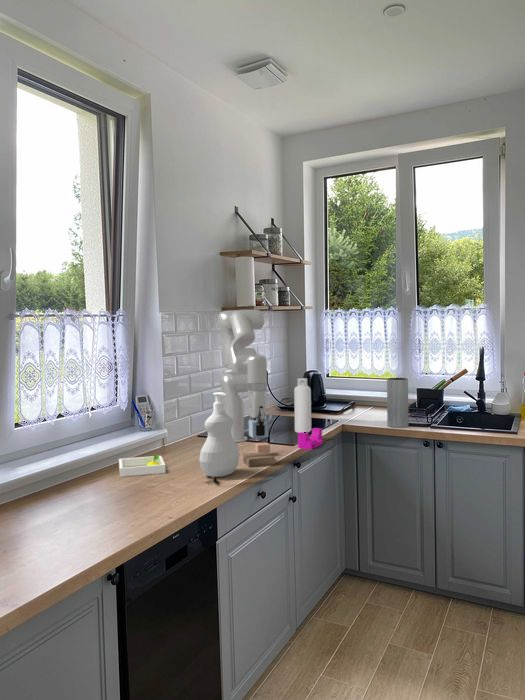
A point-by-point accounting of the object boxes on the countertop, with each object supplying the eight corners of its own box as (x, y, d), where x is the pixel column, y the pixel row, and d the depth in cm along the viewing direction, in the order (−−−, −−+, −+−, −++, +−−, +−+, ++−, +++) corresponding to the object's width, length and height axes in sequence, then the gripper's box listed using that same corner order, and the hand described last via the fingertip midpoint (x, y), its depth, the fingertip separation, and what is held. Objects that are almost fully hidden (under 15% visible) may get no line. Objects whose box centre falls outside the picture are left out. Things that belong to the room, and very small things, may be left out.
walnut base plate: (242, 461, 219) (242, 453, 218) (267, 459, 221) (267, 451, 221) (249, 467, 209) (249, 459, 209) (274, 465, 212) (274, 457, 212)
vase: (388, 435, 266) (387, 379, 266) (386, 432, 276) (386, 377, 275) (409, 436, 265) (409, 379, 264) (407, 432, 275) (407, 377, 274)
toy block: (311, 452, 234) (310, 434, 234) (298, 450, 238) (297, 433, 238) (327, 445, 247) (326, 428, 247) (314, 444, 250) (314, 427, 250)
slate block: (248, 435, 217) (248, 420, 217) (263, 434, 218) (263, 419, 218) (252, 438, 211) (252, 422, 211) (268, 437, 213) (267, 421, 212)
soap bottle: (215, 482, 189) (213, 395, 188) (191, 476, 196) (190, 394, 195) (247, 472, 202) (246, 391, 201) (224, 467, 209) (223, 389, 208)
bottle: (314, 435, 270) (313, 378, 269) (306, 438, 263) (305, 379, 262) (299, 434, 274) (298, 377, 274) (291, 437, 268) (290, 378, 267)
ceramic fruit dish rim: (119, 466, 213) (118, 458, 213) (161, 463, 218) (161, 455, 218) (120, 476, 198) (119, 468, 198) (165, 473, 202) (165, 464, 202)
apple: (154, 482, 209) (156, 459, 207) (140, 479, 211) (141, 456, 210) (165, 476, 215) (166, 454, 214) (151, 473, 217) (152, 451, 216)
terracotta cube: (255, 455, 230) (254, 443, 230) (266, 454, 231) (266, 442, 231) (258, 457, 225) (258, 445, 225) (270, 456, 226) (270, 444, 226)
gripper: (242, 386, 221) (243, 431, 222) (253, 389, 205) (254, 438, 205) (260, 385, 223) (261, 430, 224) (273, 389, 207) (274, 437, 207)
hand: (258, 433), depth 215 cm, fingers closed on slate block, 5 cm apart
